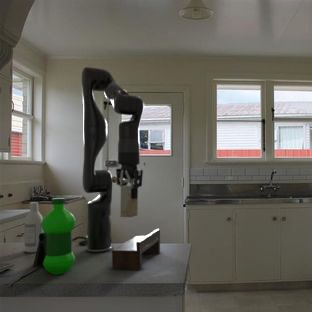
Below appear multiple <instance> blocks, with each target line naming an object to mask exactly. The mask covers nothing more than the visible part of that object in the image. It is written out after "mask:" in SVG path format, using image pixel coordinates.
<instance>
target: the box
mask: <svg viewBox="0 0 312 312" xmlns="http://www.w3.org/2000/svg"><path fill="white" fill-rule="evenodd" d="M131 189H132V188H131V185H130V184H128V185H124V186H121V187H120V213H119V215H120V218H134V217H137V216H138V214H139V213H138V211H139V210H138V207H139V205H138V204H139V197H138V198H137V199H131Z"/></svg>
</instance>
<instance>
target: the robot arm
mask: <svg viewBox="0 0 312 312" xmlns="http://www.w3.org/2000/svg"><path fill="white" fill-rule="evenodd" d="M80 79H81V91H82V92H81V94H82V104H83V123H82V126H83V128H82V131H83V163H82V165H83V166H82V188H83V191H84V192H85V193H86V194H97V193H99V194H98V195H97V196H96V197H95V198H94V199H92V200H90V201H88V202H87V204H86V223H87V224H86V225H87V226H86V237H85V236H76V237H74V239H73V241H77V240H78V239H82V240H81V241H78V245H80V246H85V245H86V251H87V252H88V253H93V254H97V253H104V252H105V253H106V252H109V251H112V200H113V175H112V173H111V171H110V170H108V169H97V170H95V167H96V162H97V158H98V156H99V154H100V152H101V151H102V149H103V148H104V146H105V144H106V142H107V141H108V140H107V139H108V122H107V119H106V117H105V116H104V115H103V112H102V110H100V108H99V106H98V105H97V103H96V99H95V95H94V92H104V93H103V94H104V96H105V99H107V101H108V102H109V103H111V104H112V108H113V111H114V112H115V113H116V114H118V115H121V116H122V115H123V116H130V119H129V120H126V121H121V122H120V123H119V124H118V141H117V164H118V165H120V168H116V169H115V174H116V184H117V185H118V186H119V188H121V186H124V185H131V188H132V189H131V199H137V198H138V199H139V193H138V192H139V188H140V187H142V186H143V174H144V170H143V169H138V165H140V164H141V143H140V125H141V121H142V116H143V114H144V110H145V102H144V100H143V99H142V97H140V96H139V95H130V94H129V92H128V91H127V90H126V89H125V88H123V87H122V86H121V85H119V84H118V82H117V81H116V79H115V77H114V76H113V75H112V73H111V72H110V71H108V70H106V69H104V68H97V67H92V66H91V67H90V66H85V67H84V68H83V69H82V71H81V78H80Z"/></svg>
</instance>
